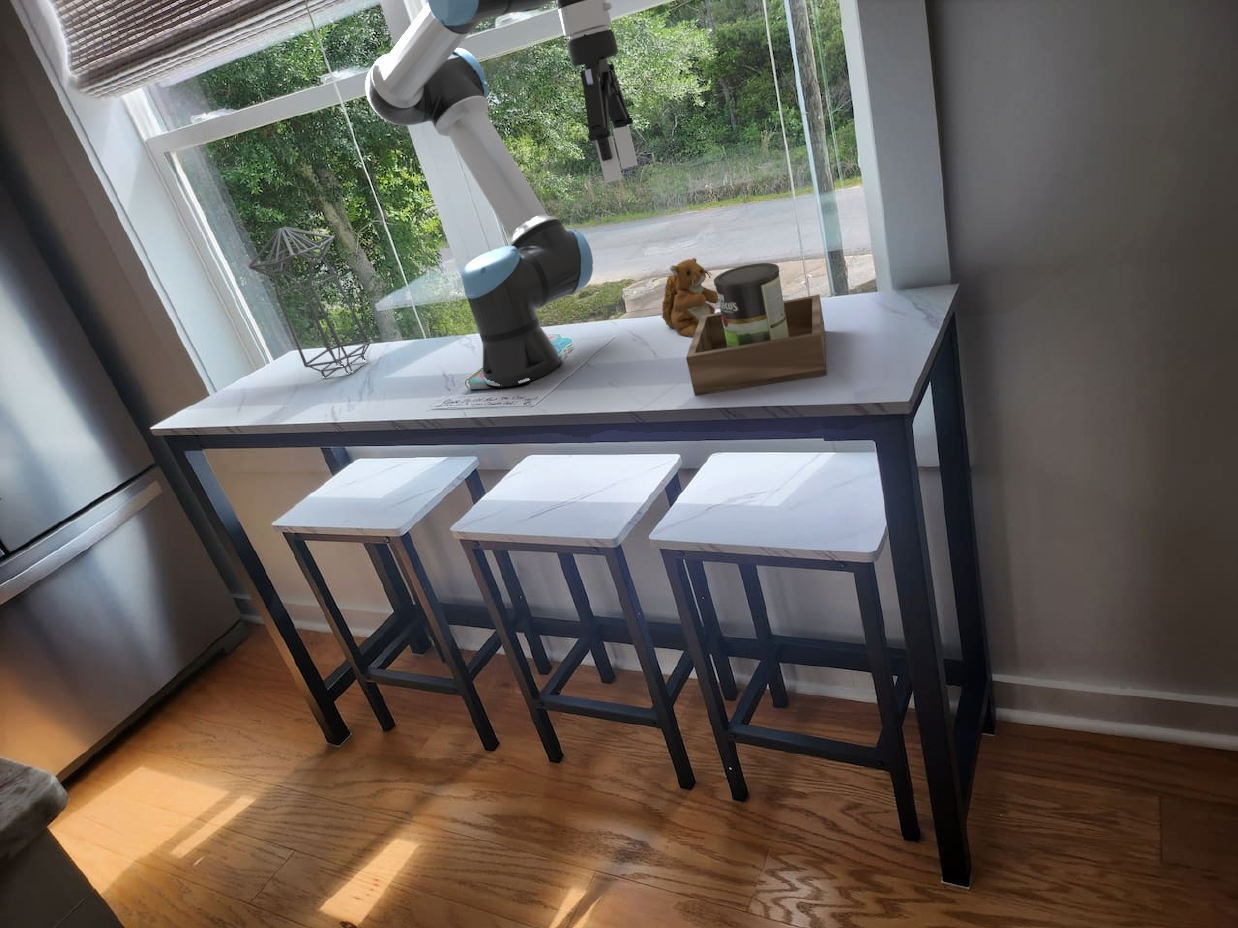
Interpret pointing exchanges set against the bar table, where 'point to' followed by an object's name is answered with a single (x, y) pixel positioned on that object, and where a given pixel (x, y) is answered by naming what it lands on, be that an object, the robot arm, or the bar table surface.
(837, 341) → the bar table surface
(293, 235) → the geometric lantern
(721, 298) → the coffee can
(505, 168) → the robot arm
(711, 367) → the walnut box
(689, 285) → the stuffed squirrel
